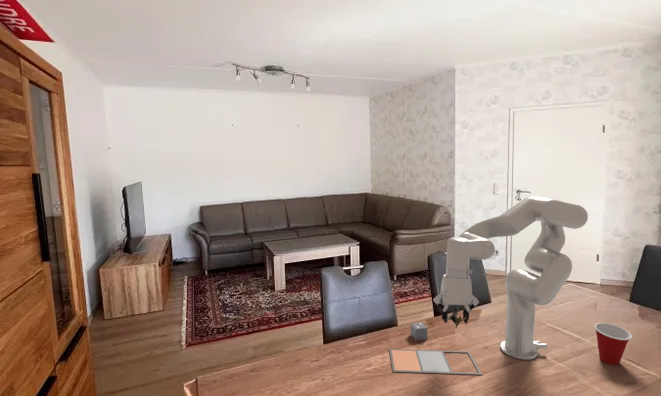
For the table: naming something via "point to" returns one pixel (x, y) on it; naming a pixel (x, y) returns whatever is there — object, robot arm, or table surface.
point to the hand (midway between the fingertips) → (455, 320)
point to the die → (419, 331)
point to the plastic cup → (611, 342)
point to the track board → (424, 361)
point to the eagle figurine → (455, 316)
